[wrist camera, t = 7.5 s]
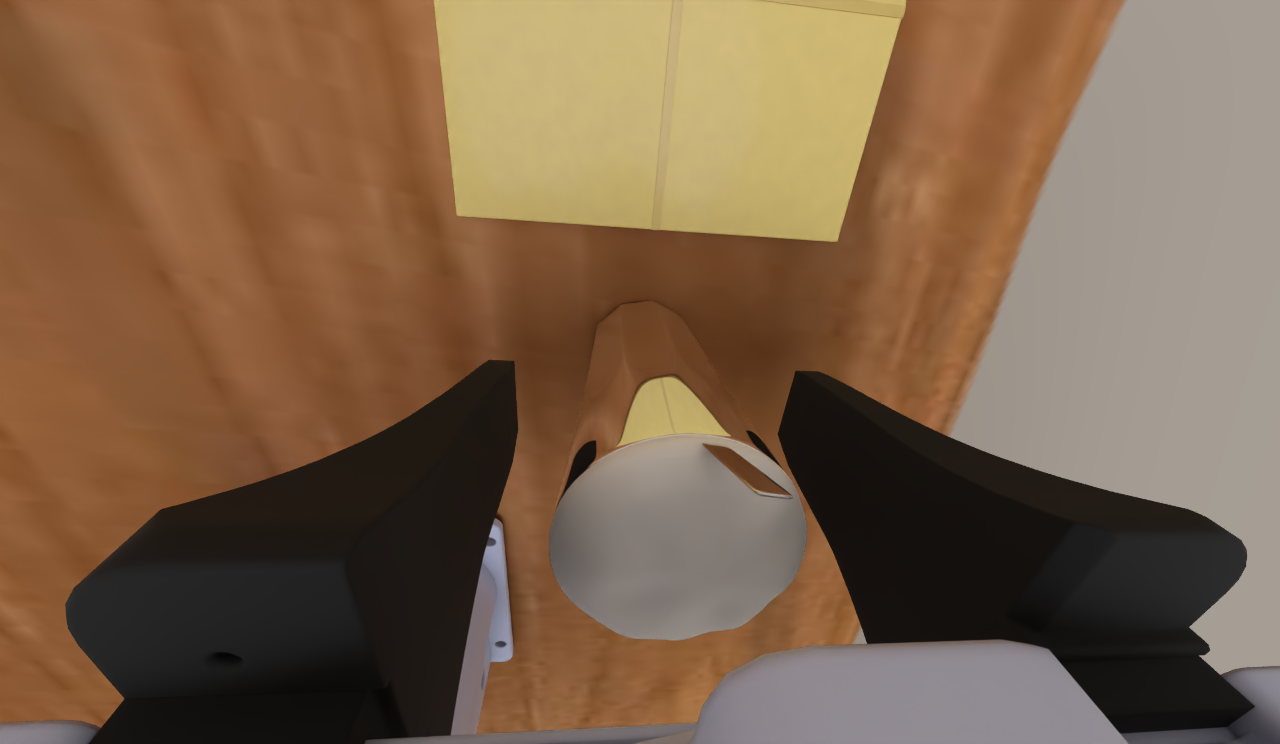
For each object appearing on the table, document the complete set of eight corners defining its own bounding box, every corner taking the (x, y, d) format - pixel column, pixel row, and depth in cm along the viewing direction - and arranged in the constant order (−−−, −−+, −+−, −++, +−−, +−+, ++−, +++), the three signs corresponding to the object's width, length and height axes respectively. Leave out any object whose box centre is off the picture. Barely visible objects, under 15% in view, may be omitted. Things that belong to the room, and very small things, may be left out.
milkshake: (735, 269, 14) (952, 516, 5) (688, 411, 17) (786, 735, 8) (590, 239, 13) (574, 471, 5) (563, 392, 16) (519, 730, 7)
